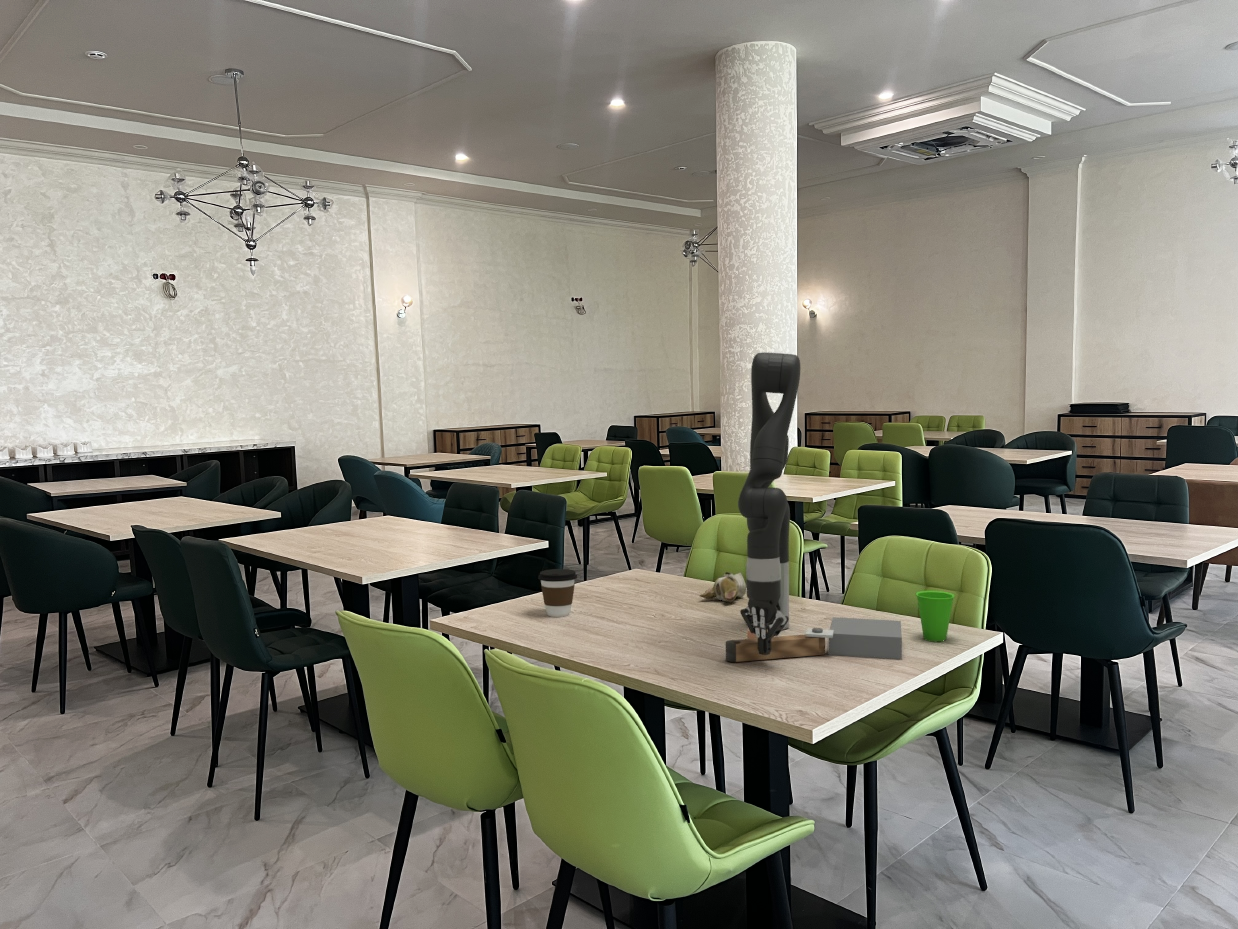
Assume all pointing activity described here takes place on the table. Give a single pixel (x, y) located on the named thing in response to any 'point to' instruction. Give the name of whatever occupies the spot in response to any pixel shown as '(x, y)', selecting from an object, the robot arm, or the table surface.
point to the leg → (775, 648)
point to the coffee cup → (558, 591)
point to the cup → (935, 613)
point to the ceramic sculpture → (727, 588)
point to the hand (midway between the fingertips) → (764, 654)
